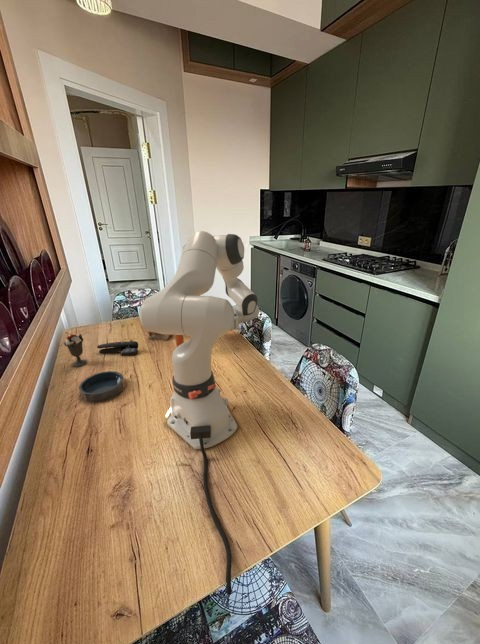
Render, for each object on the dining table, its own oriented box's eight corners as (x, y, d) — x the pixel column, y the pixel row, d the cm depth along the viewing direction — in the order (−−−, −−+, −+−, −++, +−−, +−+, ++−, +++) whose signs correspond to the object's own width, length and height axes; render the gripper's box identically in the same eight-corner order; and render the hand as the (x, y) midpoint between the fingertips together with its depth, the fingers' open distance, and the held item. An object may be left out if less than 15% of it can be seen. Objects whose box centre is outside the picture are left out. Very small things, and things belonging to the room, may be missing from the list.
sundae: (67, 369, 114) (58, 334, 108) (73, 360, 120) (64, 327, 114) (86, 366, 116) (77, 333, 110) (90, 358, 122) (82, 326, 116)
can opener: (142, 349, 130) (140, 338, 127) (136, 357, 123) (133, 345, 121) (103, 348, 130) (100, 337, 127) (94, 356, 123) (91, 344, 121)
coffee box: (148, 339, 139) (143, 307, 133) (154, 333, 145) (149, 303, 139) (166, 340, 138) (162, 308, 132) (171, 334, 144) (168, 304, 138)
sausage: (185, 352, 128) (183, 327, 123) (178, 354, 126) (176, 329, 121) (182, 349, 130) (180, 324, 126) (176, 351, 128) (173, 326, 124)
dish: (129, 392, 101) (127, 384, 100) (85, 408, 93) (82, 399, 92) (119, 375, 111) (117, 367, 109) (78, 387, 103) (76, 379, 102)
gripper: (217, 305, 145) (191, 310, 137) (240, 317, 130) (213, 325, 122) (218, 316, 147) (193, 323, 139) (240, 330, 132) (213, 338, 124)
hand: (202, 324), depth 131 cm, fingers open, 8 cm apart
